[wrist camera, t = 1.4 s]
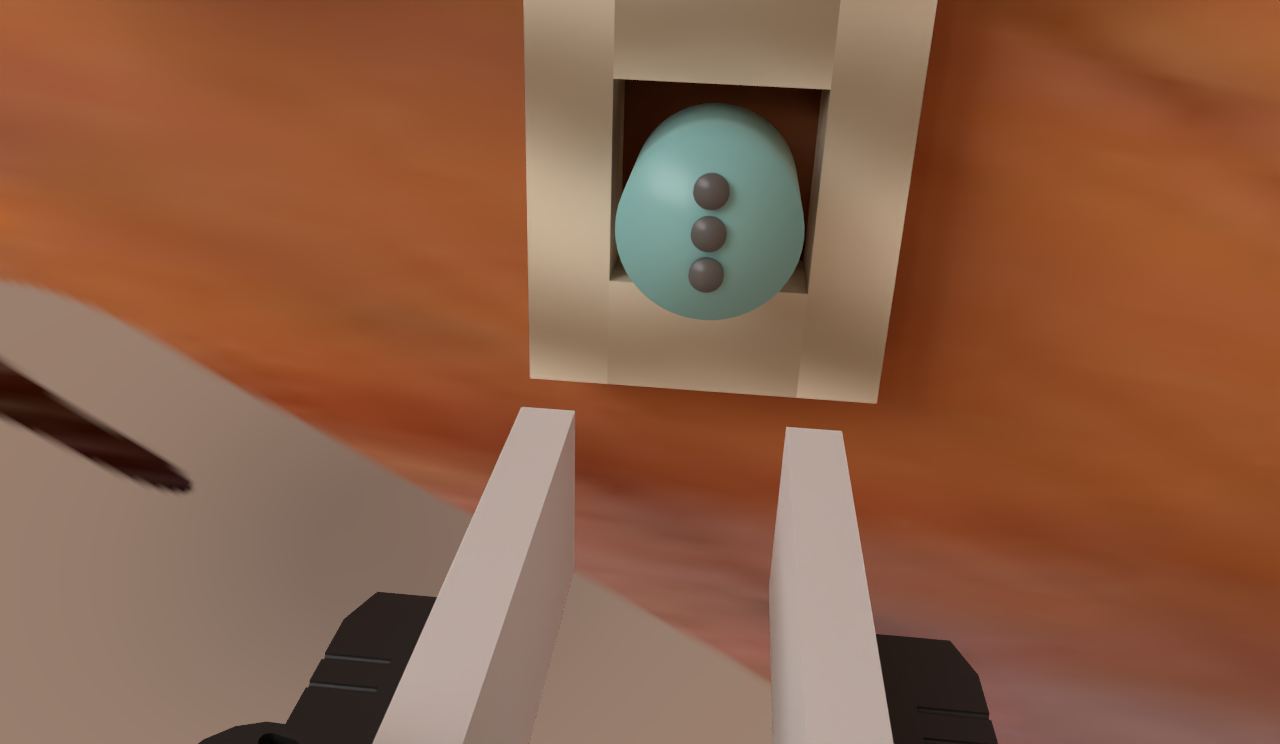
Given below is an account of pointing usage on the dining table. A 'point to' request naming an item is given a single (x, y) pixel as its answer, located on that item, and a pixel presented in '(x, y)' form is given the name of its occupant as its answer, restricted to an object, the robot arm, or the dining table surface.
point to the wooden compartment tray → (839, 201)
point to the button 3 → (711, 213)
